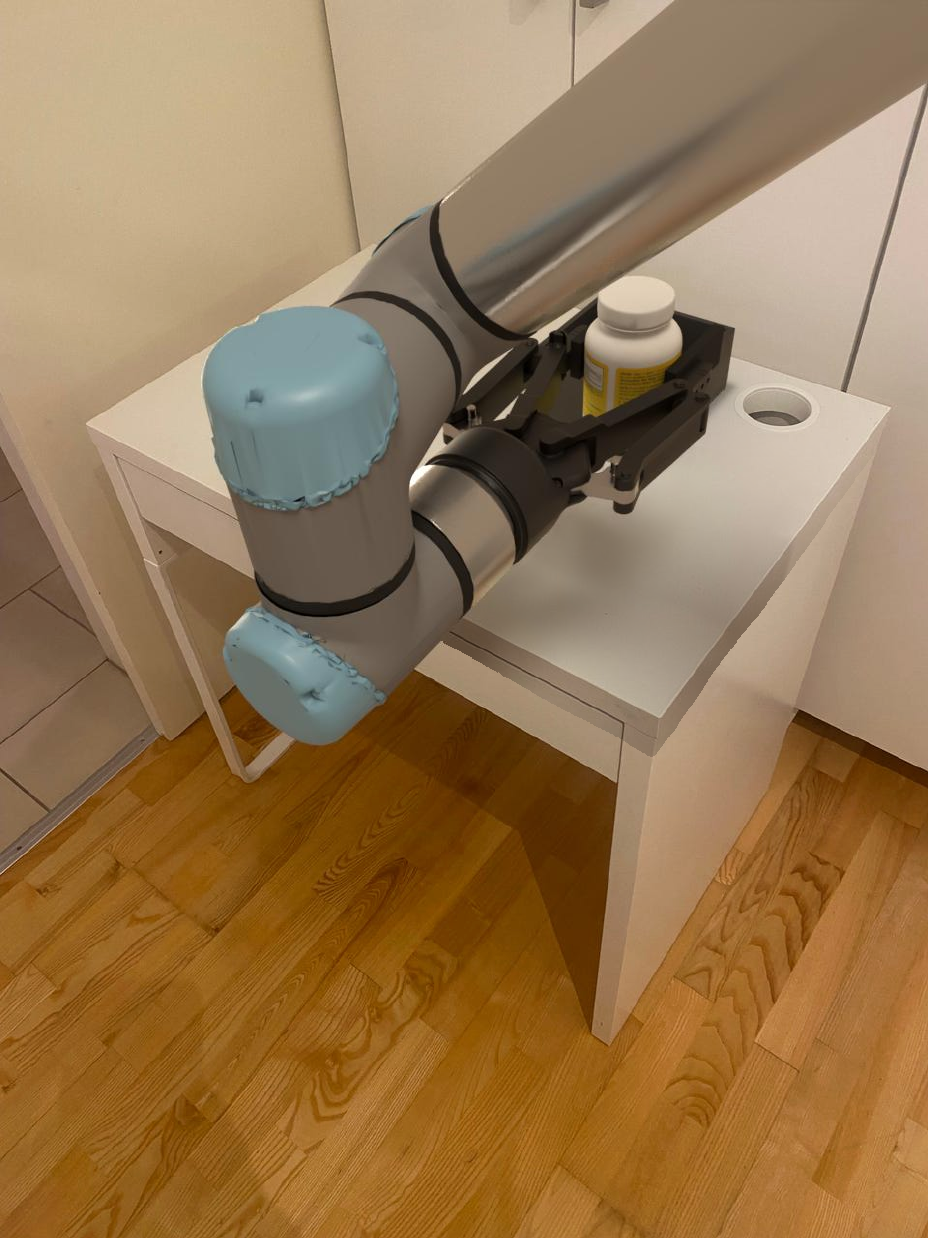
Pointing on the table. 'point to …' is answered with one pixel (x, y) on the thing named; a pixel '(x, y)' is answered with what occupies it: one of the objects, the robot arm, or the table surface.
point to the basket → (692, 329)
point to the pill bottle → (629, 343)
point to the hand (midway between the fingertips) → (669, 329)
